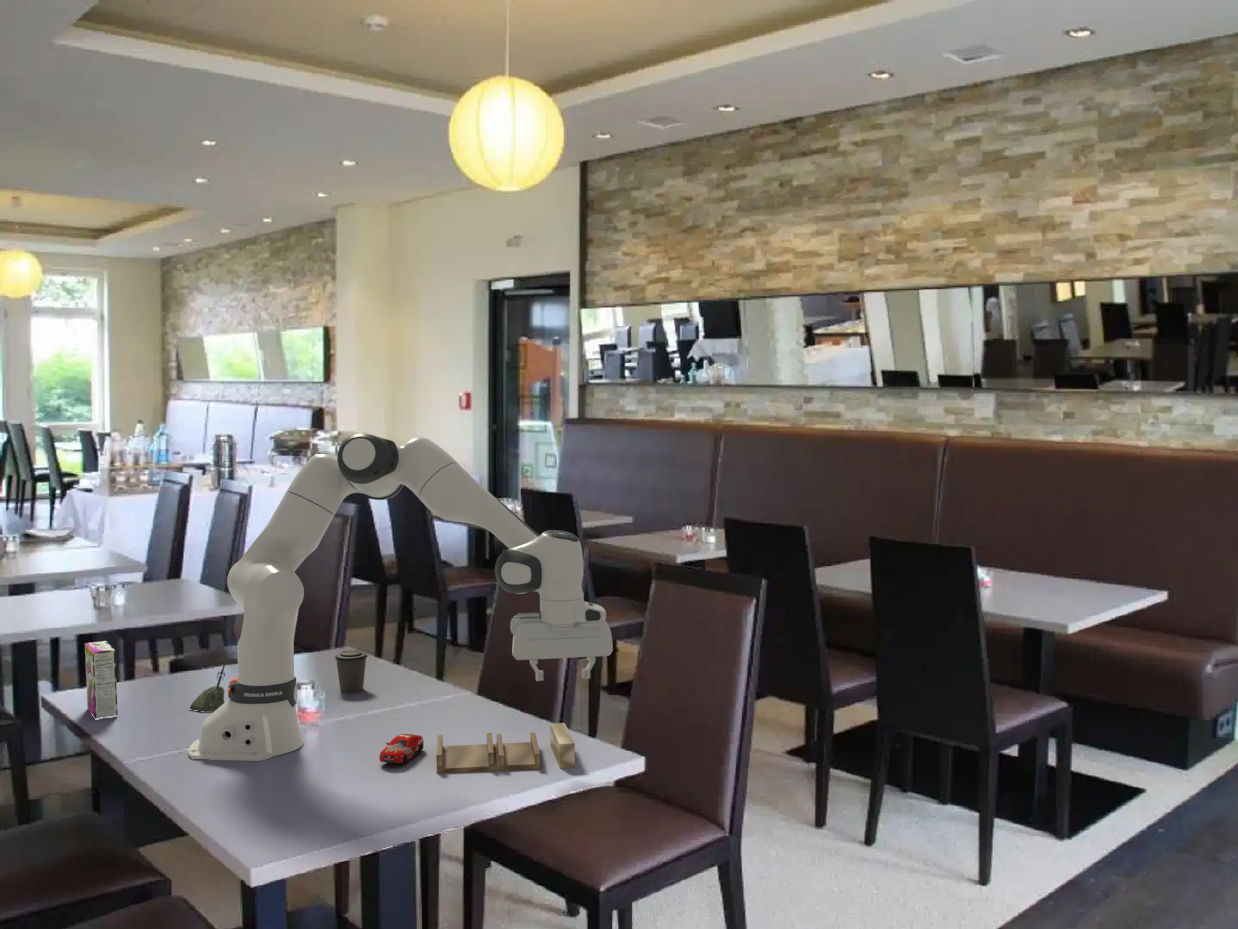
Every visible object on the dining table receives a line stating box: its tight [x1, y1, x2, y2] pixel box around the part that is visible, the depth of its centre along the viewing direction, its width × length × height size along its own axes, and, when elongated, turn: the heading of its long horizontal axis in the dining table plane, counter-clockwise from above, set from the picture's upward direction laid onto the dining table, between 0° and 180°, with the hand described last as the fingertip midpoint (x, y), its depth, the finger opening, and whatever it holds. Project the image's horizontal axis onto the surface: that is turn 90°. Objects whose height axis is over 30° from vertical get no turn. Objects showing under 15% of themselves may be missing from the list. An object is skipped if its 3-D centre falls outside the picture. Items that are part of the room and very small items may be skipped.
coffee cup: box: [334, 650, 369, 694], centre depth 275 cm, size 8×8×10 cm
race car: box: [379, 733, 424, 765], centre depth 224 cm, size 13×5×4 cm, turn 166°
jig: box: [435, 732, 541, 774], centre depth 223 cm, size 20×14×4 cm
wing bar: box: [549, 722, 576, 769], centre depth 225 cm, size 3×14×5 cm, turn 11°
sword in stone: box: [189, 657, 228, 711], centre depth 259 cm, size 10×8×12 cm
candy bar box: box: [84, 640, 118, 718], centre depth 253 cm, size 11×5×16 cm, turn 34°
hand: (562, 679), depth 225 cm, fingers open, 8 cm apart
